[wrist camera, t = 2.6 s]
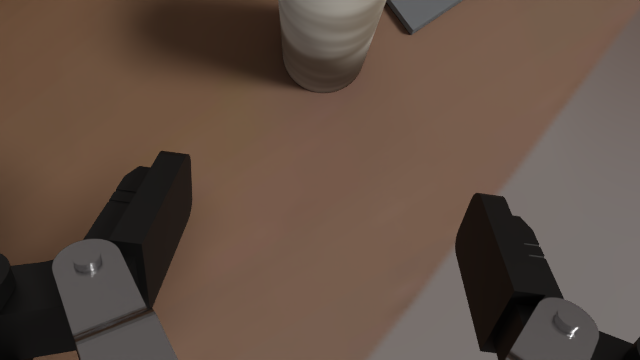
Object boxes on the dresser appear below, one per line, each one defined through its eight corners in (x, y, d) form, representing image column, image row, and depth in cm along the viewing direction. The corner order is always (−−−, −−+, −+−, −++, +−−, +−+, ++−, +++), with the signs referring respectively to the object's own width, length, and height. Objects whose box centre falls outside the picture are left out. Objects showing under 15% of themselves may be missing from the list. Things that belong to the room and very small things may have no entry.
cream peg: (313, 108, 28) (322, 33, 18) (266, 43, 28) (249, -66, 18) (380, 63, 28) (424, -33, 18) (332, 0, 29) (351, -129, 19)
